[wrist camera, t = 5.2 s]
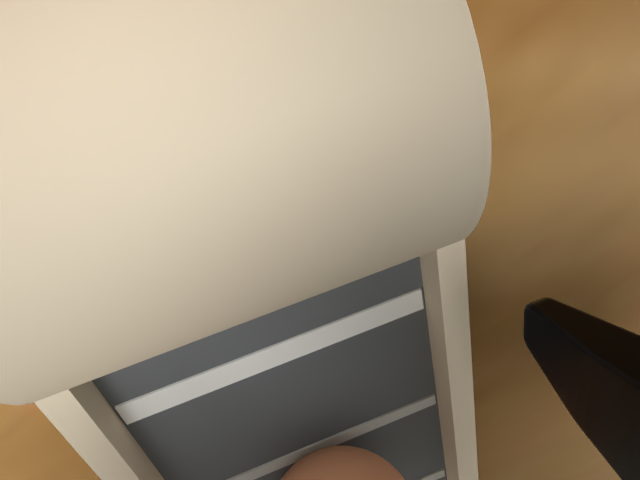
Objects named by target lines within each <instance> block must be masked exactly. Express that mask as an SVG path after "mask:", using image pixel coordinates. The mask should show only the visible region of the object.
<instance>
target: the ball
mask: <svg viewBox="0 0 640 480" xmlns="http://www.w3.org/2000/svg"><path fill="white" fill-rule="evenodd" d="M281 480H405V479H404V478H403V476H402V475H401V474H400V473H399V472H398V471H397V470H396V469H395V468H394V467H393V466H392V465H391V464H390V463H389V462H388V461H386V460H385V459H383V458H382V457H380V456H378V455H377V454H375V453H373V452H371V451H368V450H365V449H362V448H358V447H353V446H331V447H326V448H322V449H319V450H317V451H314V452H312V453H310V454H308V455H306V456H305V457H303V458H301V459H300V460H299V461H297V462H296V463H295V464H294V465H293V466H292V467H291V468H290V469H289V470H288V471H287V472H286V473H285V474H284V476H283V477H282V478H281Z"/></svg>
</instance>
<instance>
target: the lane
mask: <svg viewBox="0 0 640 480" xmlns="http://www.w3.org/2000/svg"><path fill="white" fill-rule="evenodd" d="M491 147H492V143H491V125H490V111H489V103H488V95H487V87H486V80H485V75H484V70H483V65H482V60H481V55H480V49H479V45H478V41H477V37H476V34H475V30H474V26H473V22H472V18H471V14H470V11H469V8H468V5H467V2H466V0H0V404H9V405H24V404H31V403H33V402H34V403H35V404H36V405H37V407H38V408H39V409H40V410H41V411H42V412H43V414H44V415H45V416H46V417H47V418H48V419H49V420H50V422H51V423H52V424H53V425H54V426H55V427H56V428H57V430H58V431H59V432H60V433H61V434H62V435H63V436H64V438H65V439H66V440H67V441H68V442H69V443H70V445H71V446H72V447H73V448H74V449H75V450H76V451H77V453H78V454H79V455H80V456H81V457H82V458H83V459H84V461H85V462H86V463H87V464H88V465H89V466H90V467H91V469H92V470H93V471H94V472H95V473H96V474H97V476H98V477H99V478H100V479H101V480H281V478H282V477H283V476H284V474H285V473H286V472H287V471H288V470H289V469H290V468H291V467H292V466H293V465H294V464H295V463H296V462H297V461H299V460H300V459H301V458H303V457H305V456H306V455H308V454H310V453H312V452H314V451H317V450H319V449H322V448H326V447H331V446H353V447H358V448H362V449H365V450H368V451H371V452H373V453H375V454H377V455H378V456H380V457H382V458H383V459H385V460H386V461H388V462H389V463H390V464H391V465H392V466H393V467H394V468H395V469H396V470H397V471H398V472H399V473H400V474H401V475H402V476H403V478H404V479H405V480H478V463H477V445H476V427H475V409H474V391H473V373H472V355H471V337H470V320H469V302H468V284H467V266H466V248H465V238H466V237H467V236H469V235H470V234H471V233H472V232H473V230H474V229H475V227H476V226H477V225H478V223H479V220H480V218H481V216H482V213H483V211H484V207H485V203H486V199H487V195H488V190H489V182H490V174H491Z"/></svg>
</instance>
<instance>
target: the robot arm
mask: <svg viewBox="0 0 640 480" xmlns="http://www.w3.org/2000/svg"><path fill="white" fill-rule="evenodd" d="M524 340H525V343H526V345H527V347H528V349H529V350H530V352H531V353H532V355H533V357H534V358H535V360H536V361H537V363H538V364H539V366H540V367H541V369H542V371H543V372H544V374H545V375H546V377H547V378H548V380H549V382H550V383H551V385H552V386H553V388H554V389H555V391H556V392H557V394H558V396H559V397H560V399H561V400H562V402H563V403H564V405H565V407H566V408H567V410H568V411H569V413H570V414H571V415H572V417H573V418H574V420H575V421H576V422H577V424H578V425H579V426H580V428H581V429H582V430H583V432H584V433H585V434H586V435H587V437H588V438H589V439H590V440H591V442H592V443H593V444H594V445H595V447H596V448H597V449H598V450H599V452H600V453H601V454H602V455H603V457H604V458H605V459H606V460H607V462H608V463H609V464H610V465H611V467H612V468H613V469H614V470H615V472H616V473H617V474H618V475H619V477H620V478H621V479H622V480H640V335H637V334H635V333H632V332H630V331H628V330H625V329H623V328H621V327H618V326H616V325H613V324H611V323H609V322H606V321H604V320H602V319H599V318H597V317H595V316H592V315H590V314H587V313H585V312H583V311H580V310H578V309H576V308H573V307H571V306H568V305H566V304H564V303H561V302H559V301H557V300H554V299H552V298H541V299H539V300H536V301H534V302H531V303H529V304H527V305H526V307H525V309H524Z"/></svg>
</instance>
